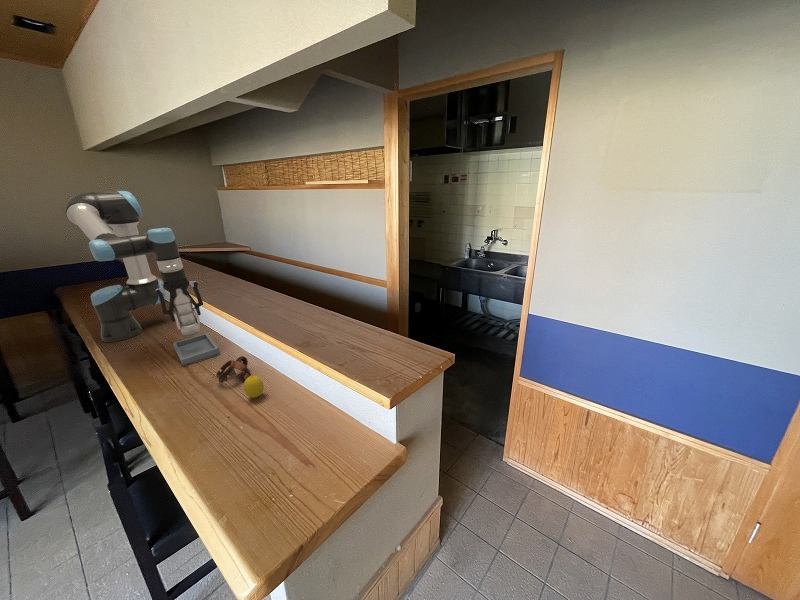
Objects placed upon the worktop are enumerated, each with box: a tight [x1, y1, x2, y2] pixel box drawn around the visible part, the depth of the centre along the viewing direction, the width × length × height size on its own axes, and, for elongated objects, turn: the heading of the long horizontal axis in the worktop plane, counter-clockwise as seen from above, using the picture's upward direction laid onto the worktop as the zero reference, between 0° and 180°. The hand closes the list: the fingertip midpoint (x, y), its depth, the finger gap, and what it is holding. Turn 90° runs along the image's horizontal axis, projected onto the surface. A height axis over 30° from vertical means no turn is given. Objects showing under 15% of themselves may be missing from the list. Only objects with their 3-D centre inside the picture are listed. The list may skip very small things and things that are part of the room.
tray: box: [172, 332, 221, 368], centre depth 132 cm, size 20×13×3 cm, turn 42°
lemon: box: [243, 375, 265, 398], centre depth 100 cm, size 6×6×8 cm
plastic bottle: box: [173, 288, 201, 337], centre depth 126 cm, size 6×7×20 cm
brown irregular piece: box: [215, 355, 252, 383], centre depth 112 cm, size 12×10×8 cm
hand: (189, 325), depth 128 cm, fingers closed on plastic bottle, 6 cm apart
